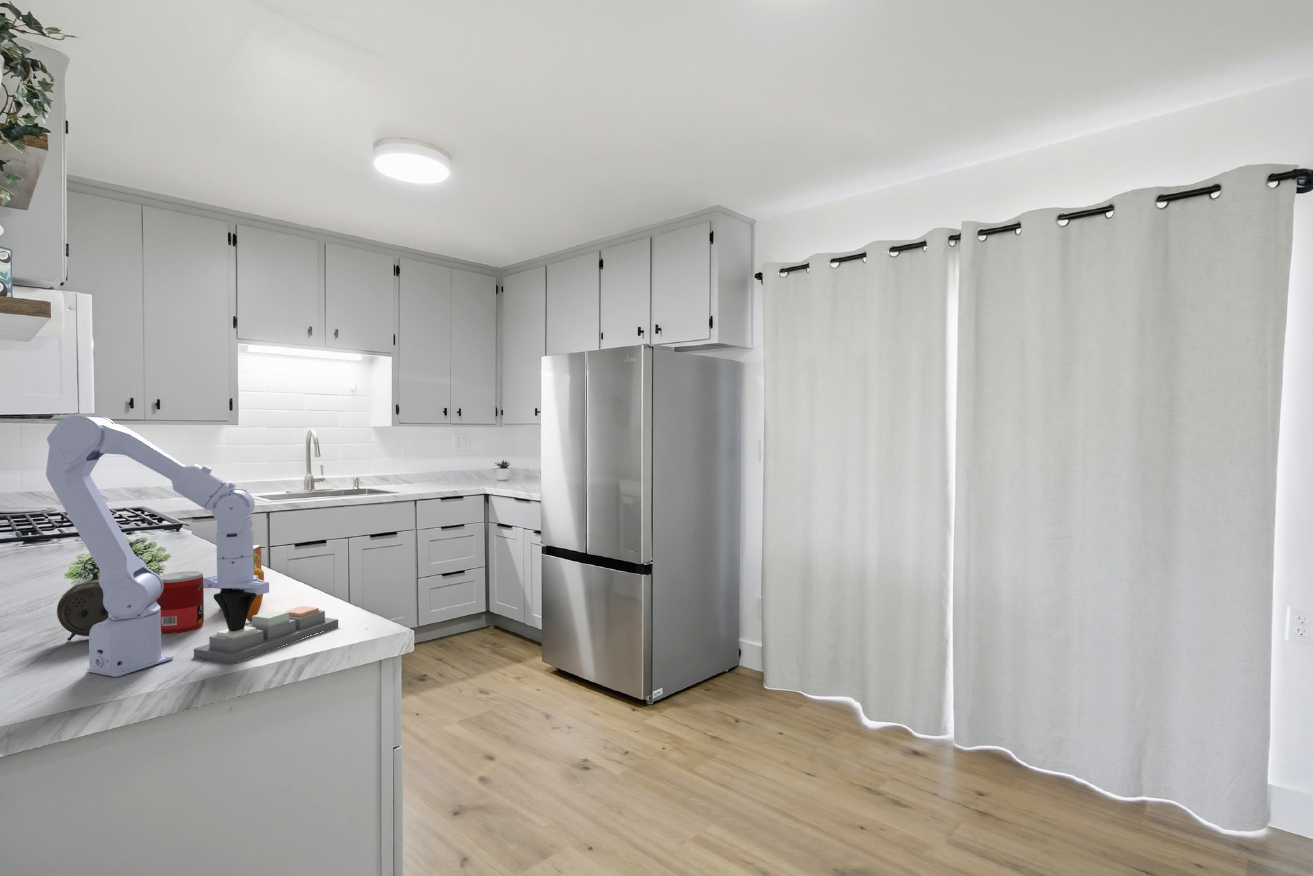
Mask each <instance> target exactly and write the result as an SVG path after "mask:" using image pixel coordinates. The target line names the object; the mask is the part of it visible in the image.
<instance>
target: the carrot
mask: <svg viewBox="0 0 1313 876" xmlns="http://www.w3.org/2000/svg"><path fill="white" fill-rule="evenodd" d="M257 557H258V555H257V554H254V551H253V562H254V564H255V562H256V559H257ZM254 575H256V576H258V579H260V580H262V581H265V571H264V570H263V569H262V568H261V569H259V568H254ZM263 597H264V594H261V595H257V596H256V597H255V599H254V601H253V602H252V604H251V607H250V609H249V612H248V615H247V619H246V621H248V622H249V623H252V616H254V615H257V614H259V611H260V609H261V606H262V603H263Z"/></svg>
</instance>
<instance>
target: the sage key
mask: <svg viewBox="0 0 1313 876" xmlns="http://www.w3.org/2000/svg"><path fill="white" fill-rule="evenodd" d="M286 622H289V612H284V611H282V610H276V609H272V610H268V611H265V612H261V613H258V614H257V615H254V616H252V622H251V624H252V626H259V627H265V628H270V627H273V626H276V625H279V624H282V623H286Z"/></svg>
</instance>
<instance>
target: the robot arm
mask: <svg viewBox="0 0 1313 876" xmlns="http://www.w3.org/2000/svg"><path fill="white" fill-rule="evenodd" d="M46 441H47V444H48V448H49V449H48V454H47V463H46V469H45V471H46V472H45V476H46V478H47V479H46V480H47V481H48V482H49V484H50V486H51V487H52V490H53V491H54V493H55V494H56V496H57V499H58V500H59V502H60V503H61V505H62V507H63V508H64V509H63V510H65V512H66V514H67V516H68V517H69V519H70V521H71V523H72V524H73V526H74V527H75V529H76V531H77V533H78V535H79V536H80V538H81V540H82V541H83V544H84V545H85V547H86V548H87V550H88V552H89V554H90V556H91V558H92V557H93V559H92V560H93V561H94V562H95V564H96V565H97V567H98V569H99V571H100V573H99V585H100V586H101V588H102V590H103V595H104V596H103V604H104V607H105V609H106V610H107V611H108V612H109V613H108V617H109V618H107V619H106V620H104V621H103V622H100V623H97V624H95V625H93V626H92V628H91V630H90V633H89V637H88V657H89V658H88V661H89V662H88V663H89V665H88V666H89V667H88V668H86V671H87V672H89V673H95V674H99V675H102V676H103V675H104V676H109V677H113V678H117V677H121V676H124V675H127V674H129V673H130V674H131V673H132V672H137V671H139V670H142V669H146V668H149V667H152V666H156V665H158V664H161V663H164V662H167V661H171V660H173V659H174V656H173V655H171V654H163V653H162V633H161V611H160V606H159V605H158V603H157V601H156V600H157V599H158V598H159V597H160V595H161V594H162V591H163V581H162V579H161V578H160V577H159V576H160V575H159V574H157V573H155V571H152V570H151V569H150V568H149V567H148V566H147V564H146V562H145V561H144V560H143V559H141V558H140V557H138V556H137V555H136V554H135V553H134V551H133V549H132V547H131V546H130V544H129V542H128V541H127V539H126V536H125V535H124V533H123V532H122V529H121V528H120V526H119V524H118V523H117V521H116V520H115V518H114V515H113V514H112V512H111V511H110V508H109V507H108V505H107V503H106V501H105V499H104V497H103V496H102V494H101V492H100V490H99V489H98V487H97V485H96V484H95V482H94V480H93V478H92V476H91V473H92V471H93V470H94V469H95V466H96V465H97V463H98V462H99V460H100V459H101V457H103V455H106V454H107V455H121V456H126V457H128V458H130V459H132V460H134V461H135V462H137V463H140V464H141V465H142V466H145V467H146V468H149V469H150V470H152V471H154V472H156V473H158V474H160V475H161V476H163V477H164V478H167V479H168V480H170V481H171V485H172V490H173V491H174V492H175V493H177V494H179V495H181V496H182V497H184V498H186V499H188V500H189V501H191V502H193V503H194V504H196V505H198V506H199V507H201V508H203V509H204V510H206V511H211V513H212V516H213V518H214V519H215V521H216V535H215V536H216V538H215V539H216V542H215V543H216V575H210V576H206V577H203V588H204V589H217V590H218V589H219V592H218V593H215V594H213V600H214V601H215V602H216V603H217V605H218V606H219V609H220V610H221V612H222V614H223V617H224V619H225V622H226V626H227V629H229V631H233V632H234V631H238V630H241V629H244V627H245V626H246V622H247V615H248V612H249V609H250V607H251V604H252V602H253V601H254V599H255V597H256V596H257V595H261V594H263V595H264V594H269V593H270V582H269V581H265V580H264V581H262V580H260V579H258V576H256V575H254V562H253V545H254V529H253V518H252V516H250V515H251V514H252V513H253V511H254V508H255V506H256V505H255V499H254V497H253V496H252V495H251V494H250V493H249V492H248V491H247V489H243V488H236V487H237V484H236V483H234V482H227V481H225V480H223V479H222V478H220V477H219V476H218V475H215V474H214V473H212V470H213V468H211V467H209V466H208V465H203V466H200V465H199V464H189V465H185V464H183V463H182V462H180V461H178V460H177V459H176V458H174V457H172V456H171V455H169V454H168V453H166V452H165V451H163V450H162V449H161V448H158V447H157V446H156V445H154V444H153V443H151V442H150V441H148V440H146V439H145V438H143V437H142V436H141V435H139V434H138V433H136V432H134V431H133V430H131V429H129V428H127V427H126V426H123V425H121V424H116V423H115V422H114V421H113V420H111V419H110V418H107V417H104V416H98V415H95V416H94V415H93V416H83V415H71V416H68V417H67V416H66V417H64V418H62V419H61V420H60V421H59V422H58V423H56V425H55V427H54V428H53V429H52V430H51V431H50V432H49V435H48V436H47V438H46ZM220 589H221V591H220Z"/></svg>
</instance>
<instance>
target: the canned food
mask: <svg viewBox="0 0 1313 876" xmlns="http://www.w3.org/2000/svg"><path fill="white" fill-rule="evenodd" d="M158 576H159V577H160V578H161V579H162V581H163V591H162V594H161V595H160V597H159V598H158V599H157V600H156V601H157V603H158V605H159V606H160V611H161V634H177V633H185V632H189V631H193V629H194V630H197V629H199V628H201V627H202V626H203V625H204V621H205V611H204V610H205V604H204V601H205V599H204V598H205V597H204V596H205V594H204V590H205V588H203V578H204V573H203V571H199V570H198V571H197V570H192V571H191V570H189V571H188V570H187V571H178V572H177V571H176V572H170V573H166V574H161V575H158ZM196 628H197V629H196Z"/></svg>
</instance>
